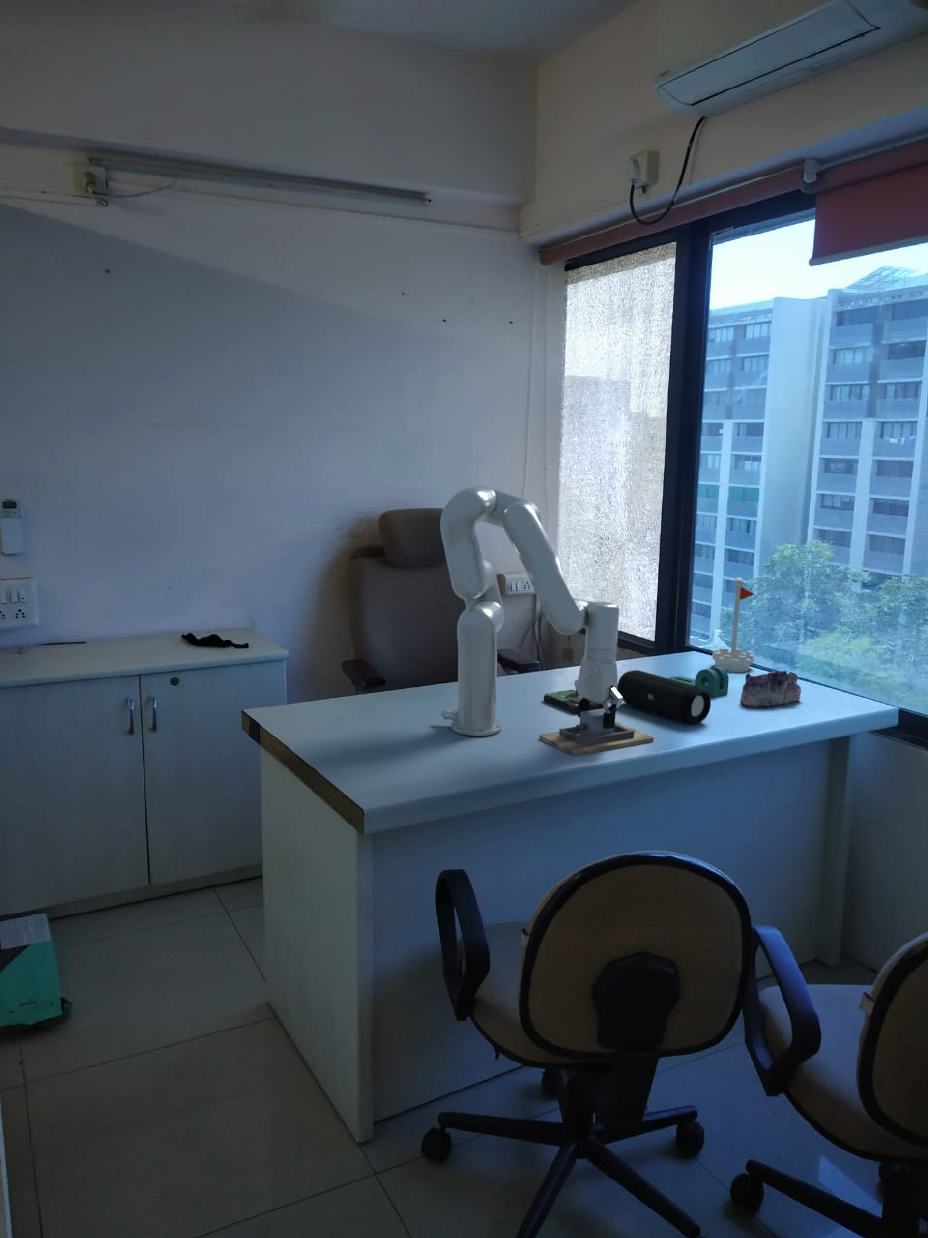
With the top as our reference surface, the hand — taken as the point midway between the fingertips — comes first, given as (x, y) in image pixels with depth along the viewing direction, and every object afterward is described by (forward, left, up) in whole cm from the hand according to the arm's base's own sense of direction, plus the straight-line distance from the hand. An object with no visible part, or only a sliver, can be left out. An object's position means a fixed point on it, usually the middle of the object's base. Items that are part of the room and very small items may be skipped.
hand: (595, 722), depth 222 cm
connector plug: (0, 0, -3) cm, 3 cm away
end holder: (0, 0, -4) cm, 4 cm away
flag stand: (+34, +91, -5) cm, 97 cm away
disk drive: (-9, +29, -5) cm, 31 cm away
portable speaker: (+14, +29, -5) cm, 33 cm away
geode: (+43, +51, -5) cm, 67 cm away
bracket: (+23, +58, -5) cm, 63 cm away
